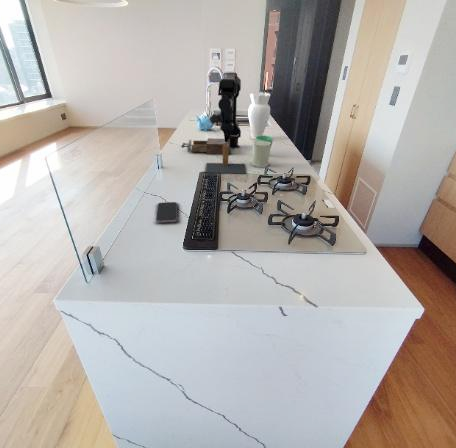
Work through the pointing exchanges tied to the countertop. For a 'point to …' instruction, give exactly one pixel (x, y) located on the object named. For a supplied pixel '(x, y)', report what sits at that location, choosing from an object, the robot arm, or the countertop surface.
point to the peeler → (225, 153)
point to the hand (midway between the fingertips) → (226, 140)
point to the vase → (258, 113)
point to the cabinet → (216, 146)
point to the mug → (265, 139)
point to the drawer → (196, 146)
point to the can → (261, 153)
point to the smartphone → (166, 212)
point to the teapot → (204, 123)
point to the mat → (225, 168)
